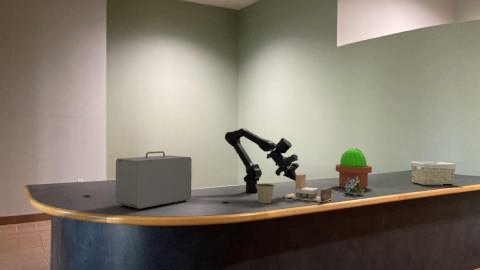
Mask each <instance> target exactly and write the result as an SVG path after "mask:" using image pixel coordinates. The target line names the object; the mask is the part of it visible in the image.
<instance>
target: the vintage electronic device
mask: <svg viewBox="0 0 480 270" xmlns="http://www.w3.org/2000/svg"><path fill="white" fill-rule="evenodd" d="M148 154H162V155H153V156H149V155H148ZM192 161H193V160H192V158H191V157H190V156H180V155H169V154H167V155H165V151H163V150H162V151H161V150H160V151H158V150H157V151H147V152H146V153H145V156H137V157H135V156H134V157H118V158H116V160H115V203H116V204H118V205H121V207H123V208H126V207H131V208H134V209H135V208H136V209H137V211H139V212H141V210H142V211H144V209H146V208H150V207H154V206H160V205H167V204H172V203H176V202H181V203H187V201H188V200H190V199H192Z"/></svg>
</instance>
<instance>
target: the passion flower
mask: <svg viewBox="0 0 480 270" xmlns="http://www.w3.org/2000/svg"><path fill="white" fill-rule="evenodd" d="M349 180H350V179H347V180H346V182H345V184H346V183H347V182H348V183H347V184H346V186H345V188H344V189H345V192H346V193H348V194H350V193H351V192H352V190H355V194H356V195H359V196H360V194H361V196H362V195H363V194H364V193H365V191H366V190H368V187H367V185H366V188H365V189H364V188H363V187H359V182H360V180H358V177H356V178H354V179H352V180H350V181H349ZM357 180H358V181H357ZM364 187H365V186H364ZM353 188H355V189H353Z"/></svg>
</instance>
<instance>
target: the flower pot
mask: <svg viewBox="0 0 480 270" xmlns="http://www.w3.org/2000/svg"><path fill="white" fill-rule="evenodd" d="M275 186H276V185H275V184H271V183H257V184H256V188H257V199H258V203H259V204H264V203H265V204H270V203H272V199H273V193H274V192H273V191H274V188H275Z"/></svg>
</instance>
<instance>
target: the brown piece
mask: <svg viewBox="0 0 480 270" xmlns="http://www.w3.org/2000/svg"><path fill="white" fill-rule="evenodd" d="M306 180H307V175H306V174H305V173H297V174H296V181H295V188H294V194H295V195H296V197H299V196H302V197H303V198H304V197H307V196H308V198H313V197H315V196H318V197H319V193H320V191H319V190H320V189H319V188H318V187H308V186H307V185H306V183H307V181H306Z"/></svg>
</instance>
